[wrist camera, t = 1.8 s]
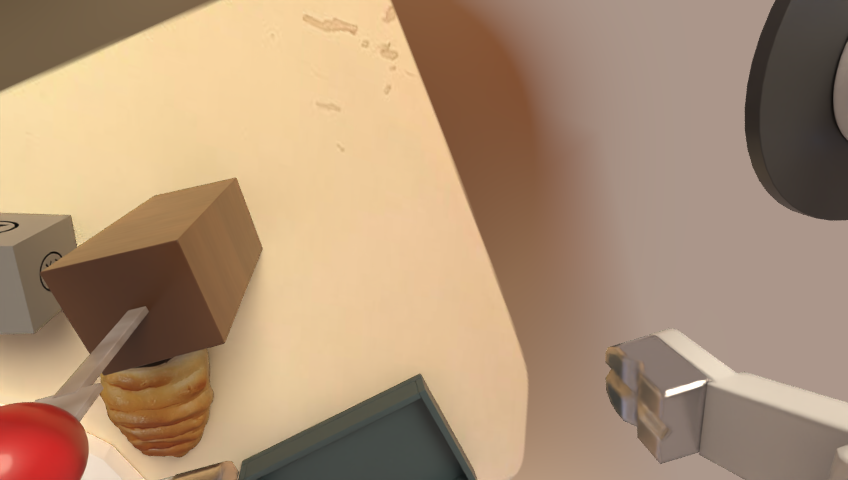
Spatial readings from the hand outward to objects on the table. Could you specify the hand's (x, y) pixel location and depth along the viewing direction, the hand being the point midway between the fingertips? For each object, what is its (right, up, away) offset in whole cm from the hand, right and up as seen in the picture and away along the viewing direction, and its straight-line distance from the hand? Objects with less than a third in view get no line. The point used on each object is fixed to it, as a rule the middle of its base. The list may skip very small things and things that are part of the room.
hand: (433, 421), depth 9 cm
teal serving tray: (-5, -16, +28) cm, 33 cm away
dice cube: (-24, +3, +16) cm, 29 cm away
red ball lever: (-14, +5, +18) cm, 23 cm away
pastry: (-19, -6, +21) cm, 29 cm away
